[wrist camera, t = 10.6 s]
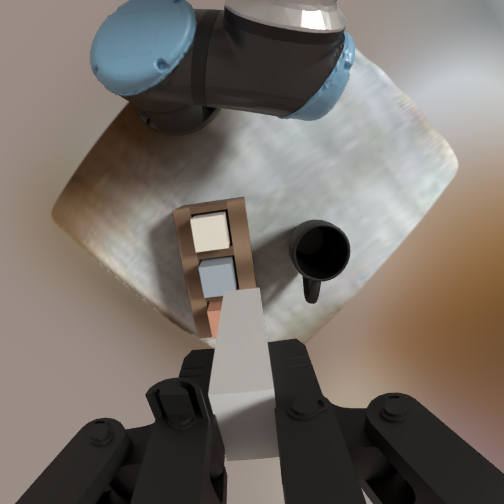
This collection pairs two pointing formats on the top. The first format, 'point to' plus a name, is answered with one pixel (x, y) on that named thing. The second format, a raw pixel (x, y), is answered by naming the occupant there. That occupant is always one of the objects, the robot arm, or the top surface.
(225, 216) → the ivory key
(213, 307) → the terracotta key
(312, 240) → the mug
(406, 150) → the top surface
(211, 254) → the brown wooden block
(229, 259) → the slate key
